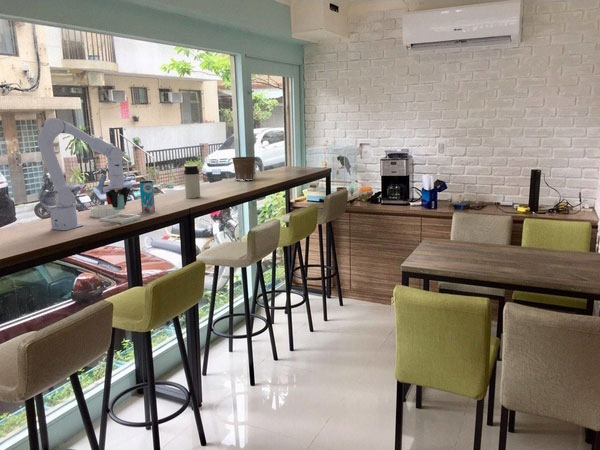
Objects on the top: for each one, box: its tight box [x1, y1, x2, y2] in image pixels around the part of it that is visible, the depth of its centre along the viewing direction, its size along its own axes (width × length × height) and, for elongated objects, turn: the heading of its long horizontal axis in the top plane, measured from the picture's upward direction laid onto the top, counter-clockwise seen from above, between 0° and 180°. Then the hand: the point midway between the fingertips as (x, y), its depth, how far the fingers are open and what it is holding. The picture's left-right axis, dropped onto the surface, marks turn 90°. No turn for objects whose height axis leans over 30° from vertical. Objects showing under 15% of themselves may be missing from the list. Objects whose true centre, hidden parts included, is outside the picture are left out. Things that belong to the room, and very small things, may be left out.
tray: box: [99, 213, 142, 225], centre depth 219 cm, size 12×12×2 cm
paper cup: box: [103, 180, 119, 205], centre depth 247 cm, size 8×8×14 cm
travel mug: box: [183, 164, 201, 199], centre depth 280 cm, size 8×8×18 cm
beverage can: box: [139, 180, 156, 214], centre depth 235 cm, size 6×6×15 cm
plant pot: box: [231, 156, 256, 180], centre depth 351 cm, size 16×16×16 cm
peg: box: [114, 194, 126, 210], centre depth 217 cm, size 4×4×6 cm
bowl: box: [90, 204, 123, 219], centre depth 230 cm, size 13×13×4 cm
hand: (119, 206), depth 218 cm, fingers closed on peg, 4 cm apart
